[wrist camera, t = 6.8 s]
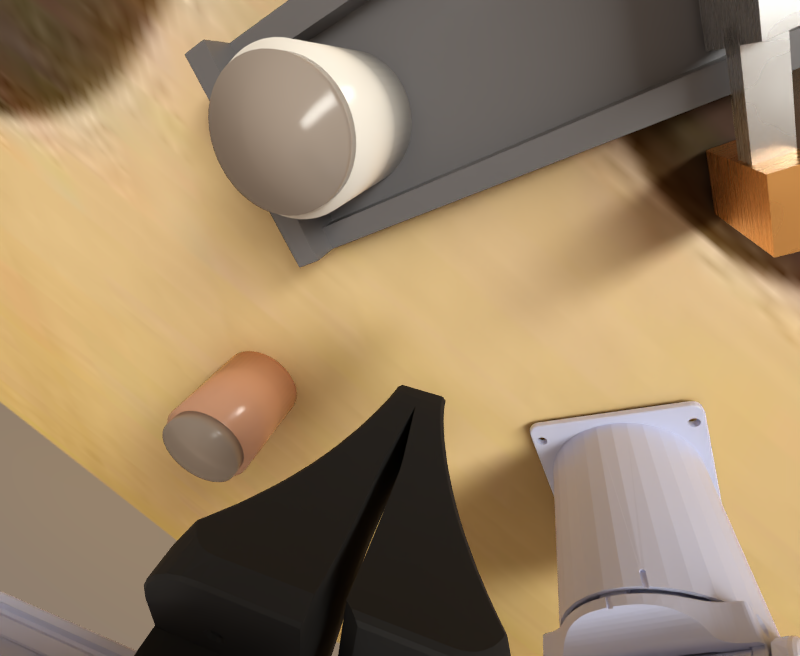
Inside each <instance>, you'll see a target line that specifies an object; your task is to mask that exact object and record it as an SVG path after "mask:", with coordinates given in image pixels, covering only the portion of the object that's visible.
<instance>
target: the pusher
mask: <svg viewBox="0 0 800 656" xmlns="http://www.w3.org/2000/svg"><path fill="white" fill-rule="evenodd" d="M698 1H699V9H700V17H701V24H702V32H703V40H704V47H705V52H708V51H713V50H718V49H724V48H725V49H726V58H727V67H728V75H729V84H730V93H731V101H732V110H733V119H734V127H735V136H736V140H734V141H731V142H728V143H725V144H723V145H720V146H717V147H714V148H711V149H708V150H706V154H707V161H708V168H709V175H710V182H711V189H712V196H713V203H714V211H715V214H716V215H717V216H719V217H720V218H721V219H723V220H724V221H726V222H727V223H728V224H730V225H731V226H732V227H734V228H735V229H736V230H738V231H739V232H741V233H742V234H743V235H745V236H746V237H747V238H749V239H750V240H751V241H753V242H754V243H756V244H757V245H758V246H760V247H761V248H762V249H764V250H765V251H766V252H768V253H769V254H771V255H772V256H773V257H778V256H782V255H786V254H790V253H795V252H799V251H800V149H797V146H796V131H795V115H794V100H793V84H792V69H791V53H790V38H789V30H790V29H793V28H795V27H797V26H800V0H698Z"/></svg>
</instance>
